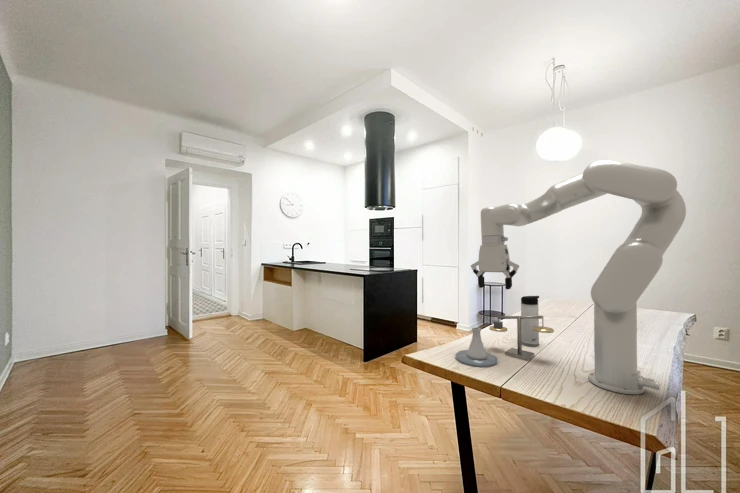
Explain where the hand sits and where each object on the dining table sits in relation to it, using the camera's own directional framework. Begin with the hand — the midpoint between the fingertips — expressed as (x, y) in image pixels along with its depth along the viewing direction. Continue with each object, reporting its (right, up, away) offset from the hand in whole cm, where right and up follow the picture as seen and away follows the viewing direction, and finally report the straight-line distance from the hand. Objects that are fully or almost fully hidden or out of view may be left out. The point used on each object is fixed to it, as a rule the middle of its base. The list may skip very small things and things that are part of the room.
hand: (494, 288), depth 108 cm
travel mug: (+20, -25, +13) cm, 35 cm away
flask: (-7, -24, -2) cm, 25 cm away
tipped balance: (+10, -25, +1) cm, 27 cm away
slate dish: (-7, -25, -2) cm, 26 cm away
